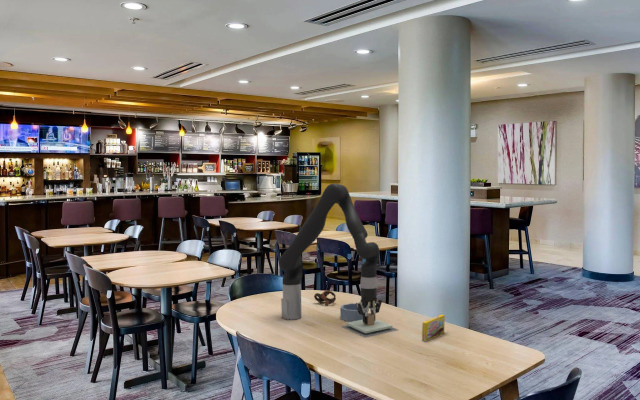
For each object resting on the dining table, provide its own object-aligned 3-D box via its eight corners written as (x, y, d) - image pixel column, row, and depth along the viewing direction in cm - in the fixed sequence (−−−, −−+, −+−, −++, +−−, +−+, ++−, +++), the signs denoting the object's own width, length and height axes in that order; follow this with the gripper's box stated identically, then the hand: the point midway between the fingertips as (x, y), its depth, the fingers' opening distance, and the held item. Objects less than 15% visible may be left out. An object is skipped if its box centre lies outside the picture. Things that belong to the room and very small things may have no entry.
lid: (365, 333, 233) (365, 321, 232) (346, 324, 246) (346, 313, 245) (392, 327, 240) (392, 315, 240) (372, 319, 253) (372, 308, 253)
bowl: (351, 324, 252) (350, 311, 251) (336, 317, 263) (336, 306, 262) (373, 319, 258) (372, 307, 258) (357, 313, 269) (357, 302, 269)
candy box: (425, 342, 224) (425, 323, 224) (421, 341, 226) (421, 322, 225) (445, 332, 236) (444, 314, 236) (440, 332, 238) (440, 313, 237)
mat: (364, 338, 230) (364, 337, 230) (341, 327, 246) (341, 326, 246) (398, 331, 240) (398, 329, 240) (373, 321, 256) (373, 319, 256)
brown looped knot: (333, 301, 296) (337, 290, 292) (332, 313, 288) (336, 302, 284) (312, 297, 295) (316, 286, 291) (311, 308, 287) (315, 297, 283)
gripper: (376, 282, 249) (376, 318, 250) (351, 286, 241) (351, 323, 242) (386, 285, 242) (386, 322, 243) (360, 289, 235) (361, 327, 236)
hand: (369, 322), depth 243 cm, fingers closed on lid, 3 cm apart
